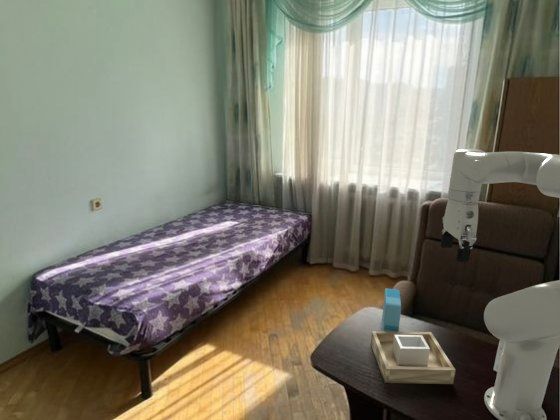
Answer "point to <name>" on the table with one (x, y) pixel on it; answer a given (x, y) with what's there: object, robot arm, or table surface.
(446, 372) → the wooden tray
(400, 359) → the white open box
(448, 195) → the robot arm
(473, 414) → the table surface
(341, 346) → the table surface
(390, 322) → the data package
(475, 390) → the table surface
